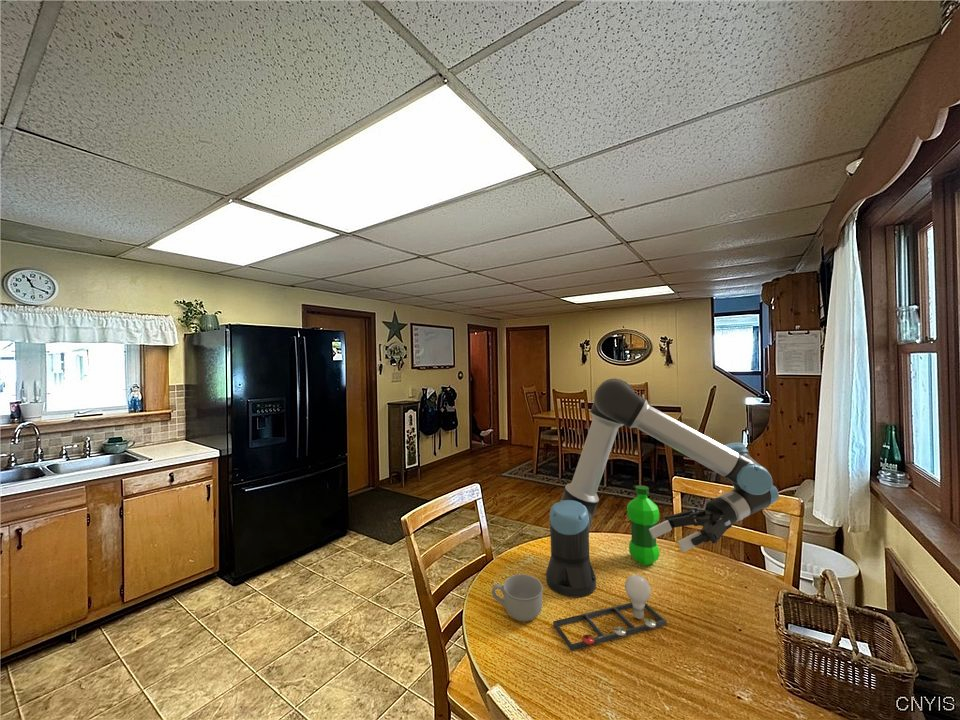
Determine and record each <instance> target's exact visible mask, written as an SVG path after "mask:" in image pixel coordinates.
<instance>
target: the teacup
mask: <svg viewBox="0 0 960 720" xmlns="http://www.w3.org/2000/svg"><path fill="white" fill-rule="evenodd" d="M543 587H544V586H543V583H542V582H541V581H540V580H539V579H538V578H537V577H535V576H532V575H530V574H524V573H519V574H518V573H517V574H513V575H511V576H508V578H506V579H505V580H504V583H503V585H502V584H500V583H495V584H494V585H493V586H492V587H491V596H492V597H493V599H494V600H495V601H496V602H498V603H500V605H501V606H502V607H503V608H505V610H506V613H508V615H509V617H511V618H513V619H514V620H517V621H519V622H530V621H533V620H534V619H536V618H538V616H539V615H540V614H541V612H542V608H543V591H544V588H543ZM496 590H500V591H501V594H502V596H503V598H501V597H500V596H499V595H498V594H496Z"/></svg>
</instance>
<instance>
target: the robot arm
mask: <svg viewBox="0 0 960 720" xmlns="http://www.w3.org/2000/svg"><path fill="white" fill-rule="evenodd" d="M590 415H591V417H592V421H591V424H590V426H589V429H588V432H587V435H586V439H585V442H584V445H583V447H582V450H581V454H580V457H579V459H578V462H577V465H576V469H575V471H574V474H573V477H572V480H571V482H570V483H567V484H566V485H565V487H564V490H563V493H562V496H561V499H560V500H559V502H558V501H557V502H554V504H553V505H552V506H551V507H550V510H549V517H548V518H549V526H550V527H549V528H550V529H549V530H550V536H549V537H550V558H549V561H548V564H547V569H546V570H545V582H546V585H547V586H548V587H549V589H551V590H552V592H554V593H557V594H559V595H561V596H566V597H571V598H580V597H585V596H586V597H587V596H589V595H590V594H593V592H595V590H596V588H597V578H596V577H597V576H596V574H595V572H594V567H593V565H592V562H591V560H590V559H591V558H590V529H591V526H592V522H593V518H594V516H595V513H596V510H597V506H598V505H599V501H600V498H599V496H598V494H597V493H598V489H599V486H600V484H601V480H602V477H603V475H604V472H605V469H606V466H607V462H608V460H609V457H610V454H611V452H612V451H611V450H612V448H613V445H614V442H615V440H616V436H617V435H618V431H619V428H621V427H623V426H625V427H627V428H628V429H633V428H637V429H638V430H639V431H641V432H643V433H645V434H647V435H648V436H650V437H652V438H654V439H656V440H657V441H659V442H661V443H662V444H665V445H666V446H668V447H670V448H672V449H673V450H675V451H677V452H679V453H681V454H683V455H685V456H686V457H688V458H690V459H692V460H694V461H695V462H697V463H699V464H700V465H703V466H704V467H706V468H707V469H710V470H711V471H713V472H715V473H717V474H719V475H720V476H722V477H724V478H725V479H727V480H729V481H730V483H731V485H732V487H733V489H731V490H729V491H726V492H725V493H723V494H720V495H718V496H717V497H715V498H713V499H711V500H709V501H707V502H706V504H705V509H701V510H698V508H697V507H694V508H691V509H689V510H686V511H682V512H678V513H674V514H671V515H667V516H664V518H663V519H664V521H662V522H660V523H658V524H656V526H654V527H652V528H650V529H649V531H650V533H651V536H652V538H653V539H654V538H656V539H657V538H658V537H660V536H662V535H665V534H667V533H669V532H671V531H673V529H675V528H683V527H688V526H694V527H699V526H700V527H701V526H702V528H701V529H699V531H695V532H693V533H690V535H687V536H685V537H684V538H681V539H680V540H678V541H676V542H677V544H678V546H679V550H680V552H682V553H683V554H684V553H686V552H687V551H689V550H692V549H693V548H696V547H697V546H700V545H702V544H703V543H709V542H711V544H716V543H718V542H719V540H720V539H721V537H722V536H723V535H724V534H725V532H727V530H729V529H731V528H732V527H733V525H734V524H735V523H737V522H739V521H743V520H744V519H745V518H747V517H750V516H751V515H753V514H755V513H758V512H759V511H762V510H764V509H766V508H769V507H770V506H771V505H773V504H775V503H776V502H777V501H778V500H779V498H780V497H779V495H780V494H779V489H777V487H776V486H775V485H774V484H773V483H774V481H773V478H772V475H771V473H770V472H769V470H767V469H766V467H765V466H762V465H761V464H760V463H758V462H757V461H756V460H755V459H753V457H751V455H750V453H749V450H748V449H747V447H746V445H745V444H744V443H742V442H731V443H727V444H722V443H720V442H718V441H716V440H714V439H712V438H711V437H709V436H707V435H705V434H703V433H701V432H700V431H697V430H696V429H694V428H692V427H690V426H688V425H687V424H685V423H683V422H681V421H679V420H677V419H675V418H674V417H672V416H669V415H668V414H666V413H664V412H663V411H661V410H659V409H657V408H655V407H653V406H651V405H650V404H649V402H648V400H647V399H646V398H644V397H642V396H640V395H638V394H637V393H635V391H634V389H633V388H632V386H631V385H630V384H629V383H628V382H627V381H625V380H623V379H620V378H609V379H606V380H604V381H603V382H602V383H601V384H600V385H599V386H598V387H597V388H596V390H595V392H594V400H593V403H592V406H591V409H590Z"/></svg>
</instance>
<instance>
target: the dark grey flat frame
mask: <svg viewBox="0 0 960 720" xmlns="http://www.w3.org/2000/svg"><path fill="white" fill-rule="evenodd" d="M631 609H633V605H632V603H631V602H628V603H627V602H626V603H623V604H619V605H615V606H610V607H607V608H603V609H599V610H594V611H590V612H586V613H582V614H578V615H574V616H569V617H565V618H561V619H558V620H554V621H553V622H552V627H553V628H554V630H556V632H557V634H558V635H559V636H560V637H561V639H562V641H563V642H564V643H565V645H566V646H567V647H568V648H569V650H570V651H571V652H573V651H577V650H580V649H584V648H589V647H592V646H595V645H598V644H602V643H606V642H610V641H614V640H616V639H617V640H618V639H621V638H624V637H627V636H631V635H635V634H638V633H639V634H640V633H643V632H646V631H649V630H653V629H654V630H655V629H658V628H661V627H664V626H667V620H666V619H665V618H664V617H662V616H661V615H660V614H659V613H658V612H657V611H656V610H654V608H652V607H651V606H649V605H648V604H647V602H646V603H645V607H644V610H646V611H647V612H648V613H650V614H651V616H653V617H654V618H655V619H656V620H657V621H655V620H654V619H652V618H645V619H644V620H643V624H642V625H641V624H640V625H638V626H635V625H634V624H633V623H632V622H631V621H630V620H629V619H628V618H627V617H626V616H625V615H624V614H622V613H621V611H625V610H631ZM609 614H615V615H616V616H617V617H618V618H619V619H620V620H621V621H622V622H623V623H624V624H625V625H626V626H627V627H628V629H626V628H624V627H622V626H615V627H614V628H613V632H611V633H609V634H608V633H607V634H604V633H603V631H602V630H601V629H600V628H599V627H598V626H597V625H596V624H595V623H594V621H593V620H592V619H593V618H597V617H601V616H604V615H609ZM581 621H585V622H586V623H587V624H588V625H589V626H590V627H591V628H592V630H593V631H594V632H595V633H596V634H597V635H598V636H596V637H593V636H592V635H590V634H583V636H581V637H582V638H581V641H579V642H575V643H572V642H571V641H570V640H569V637H568V636H566V634H565V633H564V632H563V630H562V629H561V628H560V627H561V626H565V625H569V624H572V623H573V624H574V623H577V622H581Z"/></svg>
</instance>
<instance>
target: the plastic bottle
mask: <svg viewBox="0 0 960 720" xmlns="http://www.w3.org/2000/svg"><path fill="white" fill-rule="evenodd" d="M649 490H650V488H649V486H646V485H635V493H636V494H637V496H635V497H634V498H632V499H631V500H630V501H629V502H628V503H627V505H626V514H627V518H628V520H630V524H631V525H630V527H631V539H630V540H629V543H628V549H629V550H628V552H629V554H630V556H631V557H632V558H633V559H634V560H635V562H637V563H638V564H640V565H644V566H650V565H652V564H653V563H655V562H657V561H658V560H659V558H660V555H661V554H660V547H659V545H658V544H657V537H656V538H654V539H653V538H652V536H651V533H650V531H649V529H650V528H652V527H654V526H656V525H657V523H658V522H659V521H660V511H659V507H658V505H657V504H656V503H655V502H654V501H653V500H651V499H650V498H649V497H648V495H649V494H650V491H649Z"/></svg>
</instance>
